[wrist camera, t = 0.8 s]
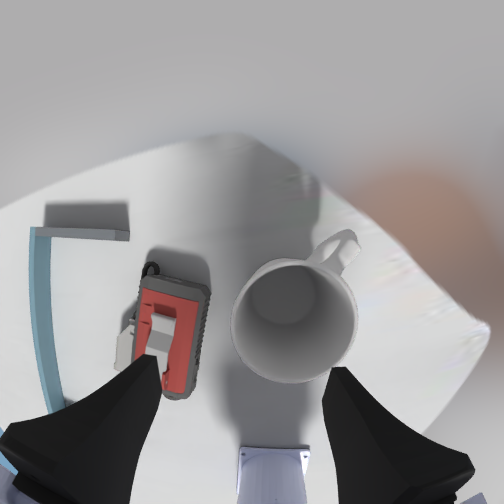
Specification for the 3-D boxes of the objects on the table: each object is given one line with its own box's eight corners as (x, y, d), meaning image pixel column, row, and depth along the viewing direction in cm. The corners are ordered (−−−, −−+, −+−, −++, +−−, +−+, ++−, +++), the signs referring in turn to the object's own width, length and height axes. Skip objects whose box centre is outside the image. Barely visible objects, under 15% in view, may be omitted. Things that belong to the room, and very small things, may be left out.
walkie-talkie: (135, 255, 27) (121, 415, 28) (113, 256, 23) (105, 433, 23) (217, 275, 27) (188, 439, 27) (207, 279, 22) (179, 461, 23)
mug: (286, 340, 26) (299, 404, 14) (231, 296, 26) (204, 333, 14) (355, 259, 26) (416, 266, 14) (301, 213, 26) (327, 183, 14)
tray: (139, 443, 27) (130, 457, 24) (63, 416, 28) (52, 425, 25) (129, 231, 27) (115, 229, 24) (46, 228, 28) (30, 226, 25)
